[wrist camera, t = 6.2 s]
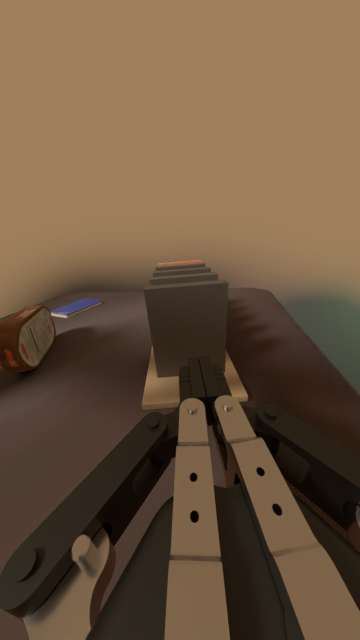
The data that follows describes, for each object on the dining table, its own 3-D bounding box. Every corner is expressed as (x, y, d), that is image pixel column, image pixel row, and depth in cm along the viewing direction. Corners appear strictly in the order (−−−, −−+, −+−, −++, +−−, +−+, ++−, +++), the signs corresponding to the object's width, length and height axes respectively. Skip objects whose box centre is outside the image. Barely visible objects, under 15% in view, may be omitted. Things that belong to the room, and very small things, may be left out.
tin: (46, 337, 40) (30, 300, 36) (62, 335, 40) (48, 298, 37) (9, 386, 26) (-22, 334, 23) (34, 380, 27) (8, 329, 24)
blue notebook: (66, 314, 49) (101, 300, 59) (47, 311, 52) (83, 298, 62) (68, 319, 50) (102, 304, 60) (49, 316, 53) (85, 302, 63)
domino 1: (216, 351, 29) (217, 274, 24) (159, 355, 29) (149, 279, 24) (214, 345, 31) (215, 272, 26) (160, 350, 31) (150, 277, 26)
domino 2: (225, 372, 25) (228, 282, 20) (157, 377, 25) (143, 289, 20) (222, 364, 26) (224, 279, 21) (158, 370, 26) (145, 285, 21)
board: (247, 401, 21) (248, 396, 21) (142, 410, 21) (141, 405, 21) (204, 308, 48) (204, 305, 48) (159, 312, 48) (158, 309, 48)
